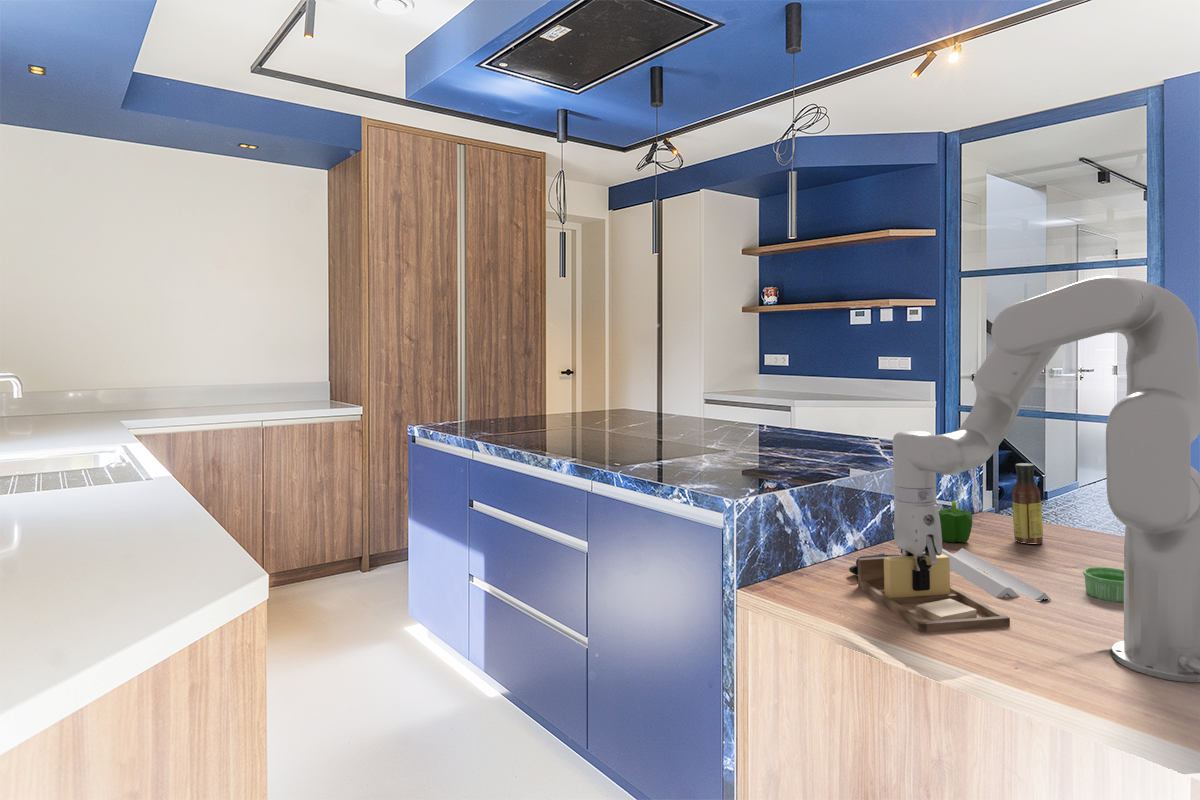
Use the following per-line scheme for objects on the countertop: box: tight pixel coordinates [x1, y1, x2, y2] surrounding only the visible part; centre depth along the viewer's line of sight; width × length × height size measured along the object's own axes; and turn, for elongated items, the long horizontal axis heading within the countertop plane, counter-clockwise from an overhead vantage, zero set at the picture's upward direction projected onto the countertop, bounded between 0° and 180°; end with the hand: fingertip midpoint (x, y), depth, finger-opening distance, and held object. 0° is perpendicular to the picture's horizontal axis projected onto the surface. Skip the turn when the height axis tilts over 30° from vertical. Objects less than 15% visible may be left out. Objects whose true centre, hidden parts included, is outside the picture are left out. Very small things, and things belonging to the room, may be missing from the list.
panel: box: [883, 554, 951, 598], centre depth 133 cm, size 2×12×9 cm, turn 94°
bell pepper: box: [938, 500, 973, 543], centre depth 174 cm, size 8×8×10 cm
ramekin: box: [1082, 566, 1124, 603], centre depth 133 cm, size 9×9×4 cm
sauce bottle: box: [1011, 462, 1044, 544], centre depth 170 cm, size 7×6×20 cm
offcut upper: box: [915, 599, 978, 621], centre depth 123 cm, size 6×8×2 cm
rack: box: [857, 556, 1011, 633], centre depth 129 cm, size 24×16×7 cm, turn 4°
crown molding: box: [923, 547, 1052, 601], centre depth 147 cm, size 31×12×4 cm, turn 179°
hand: (916, 586), depth 133 cm, fingers closed on panel, 2 cm apart
